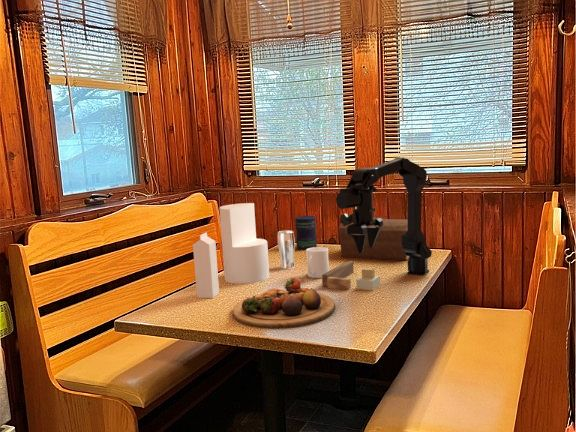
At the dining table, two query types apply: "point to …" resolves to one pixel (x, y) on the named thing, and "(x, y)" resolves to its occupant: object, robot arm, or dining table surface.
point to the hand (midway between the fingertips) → (365, 250)
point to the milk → (206, 267)
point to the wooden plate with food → (284, 307)
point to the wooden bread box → (378, 242)
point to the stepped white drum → (242, 245)
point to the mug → (317, 261)
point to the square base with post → (368, 280)
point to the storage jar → (305, 232)
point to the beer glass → (286, 248)
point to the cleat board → (338, 277)
